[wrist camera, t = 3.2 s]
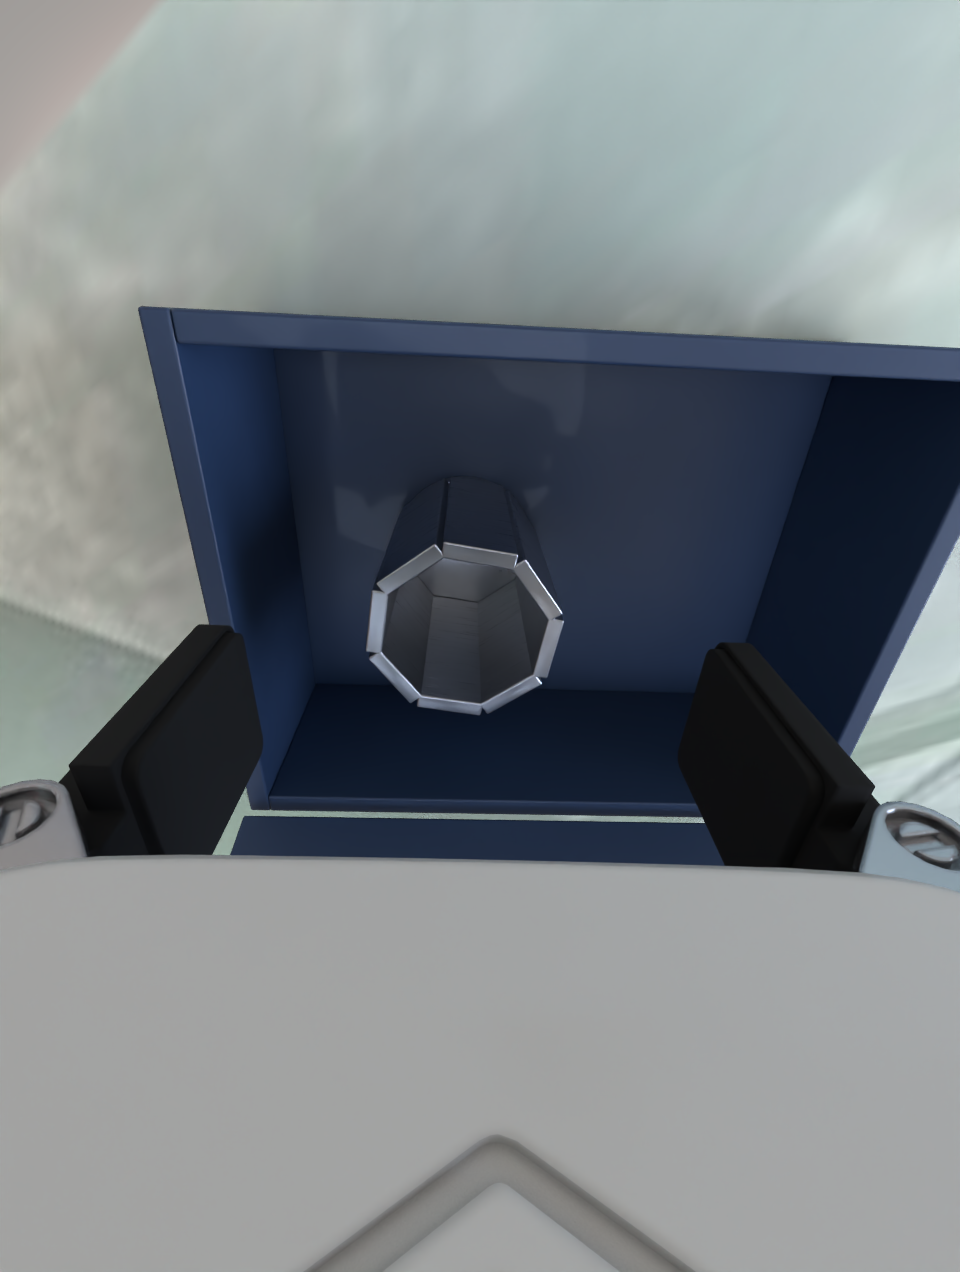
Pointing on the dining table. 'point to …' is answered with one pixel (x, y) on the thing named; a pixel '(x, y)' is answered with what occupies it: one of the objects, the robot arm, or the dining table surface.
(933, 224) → the dining table surface
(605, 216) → the dining table surface
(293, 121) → the dining table surface
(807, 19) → the dining table surface
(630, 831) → the lid
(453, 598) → the tumbler
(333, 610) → the chest
